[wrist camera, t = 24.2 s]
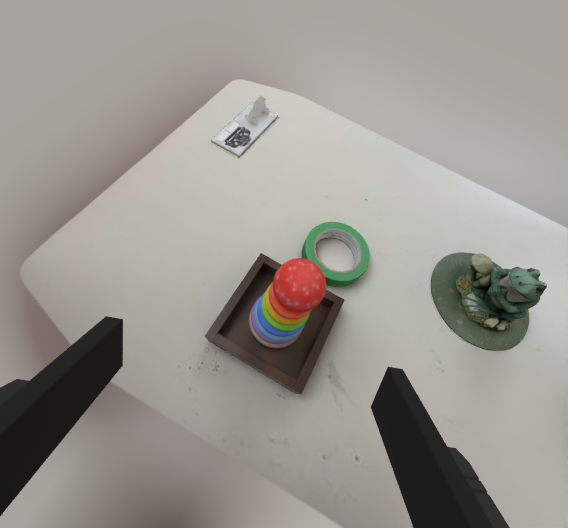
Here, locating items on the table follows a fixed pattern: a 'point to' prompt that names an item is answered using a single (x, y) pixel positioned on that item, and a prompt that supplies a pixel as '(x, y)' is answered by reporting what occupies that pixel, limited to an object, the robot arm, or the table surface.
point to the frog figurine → (485, 299)
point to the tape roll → (345, 235)
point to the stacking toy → (287, 303)
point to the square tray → (270, 361)
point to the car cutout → (245, 127)
